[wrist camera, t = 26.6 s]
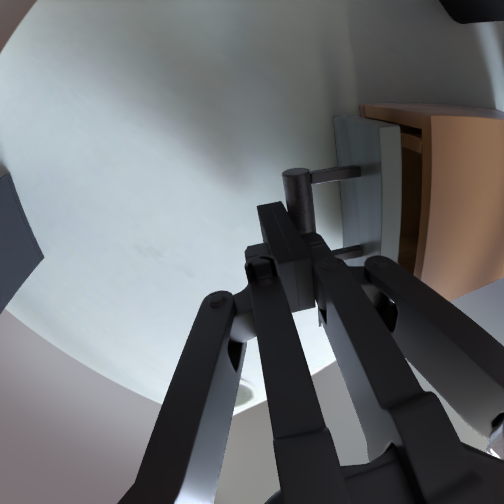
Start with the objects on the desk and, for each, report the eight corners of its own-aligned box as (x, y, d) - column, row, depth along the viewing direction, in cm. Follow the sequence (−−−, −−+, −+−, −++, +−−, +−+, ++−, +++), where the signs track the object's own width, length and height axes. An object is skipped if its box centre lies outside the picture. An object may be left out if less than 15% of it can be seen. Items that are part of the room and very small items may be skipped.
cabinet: (366, 254, 22) (413, 315, 15) (358, 104, 16) (430, 114, 10) (489, 221, 22) (538, 259, 15) (496, 109, 16) (559, 129, 10)
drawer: (289, 272, 21) (309, 327, 16) (265, 125, 16) (286, 137, 11) (475, 225, 21) (515, 256, 16) (483, 115, 16) (534, 130, 11)
